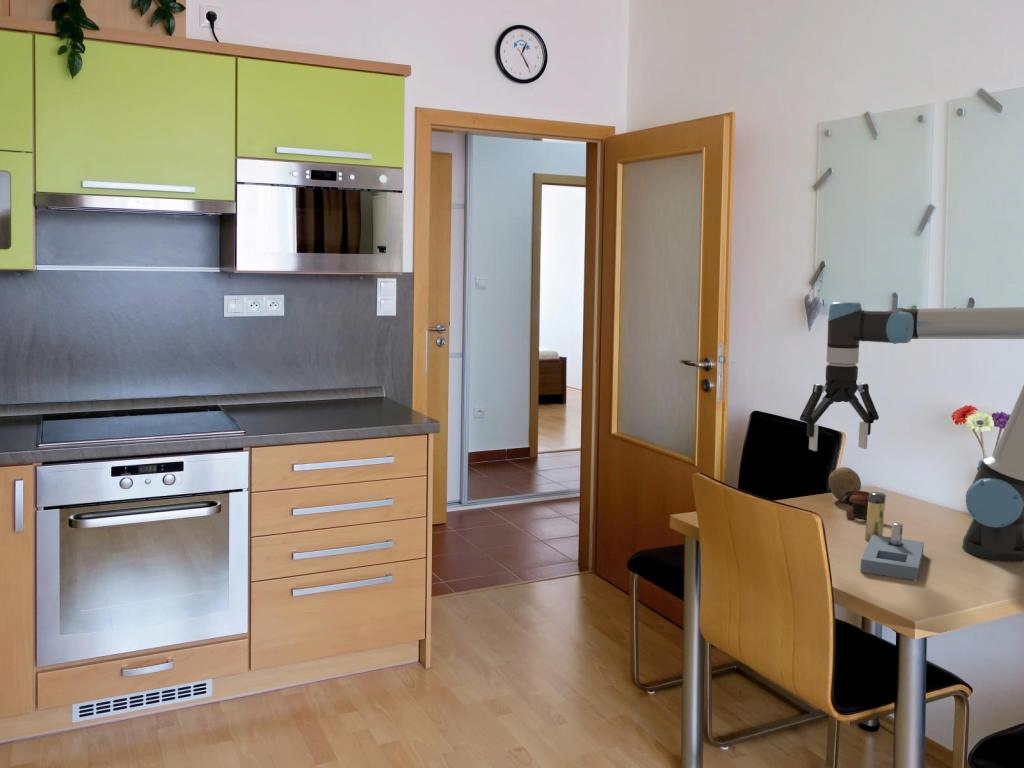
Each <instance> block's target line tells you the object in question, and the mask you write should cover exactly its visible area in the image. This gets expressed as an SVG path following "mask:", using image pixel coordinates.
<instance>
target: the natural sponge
mask: <svg viewBox="0 0 1024 768" xmlns="http://www.w3.org/2000/svg"><path fill="white" fill-rule="evenodd" d="M861 481H862V480H861V479H860V476H859V474H858V473H857V472H856V471H854V470H853V469H852V468H850V467H847V466H842V467H838V468H836V469H833V470H832V472H830V473H829V476H828V486H829V488H830V492H831V494H832V495H833V496H834V498H836V499H837V500H838V501H840V502H842V500H843V498H844V497H845V493H846V492H848V491H861V487H862V482H861Z"/></svg>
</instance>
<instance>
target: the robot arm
mask: <svg viewBox="0 0 1024 768" xmlns="http://www.w3.org/2000/svg"><path fill="white" fill-rule="evenodd" d="M920 339H921V340H925V339H926V340H927V339H928V340H930V339H931V340H937V339H939V340H942V339H943V340H947V339H948V340H1024V306H1017V307H1016V306H1015V307H1014V306H1013V307H1012V306H1007V307H1005V306H1004V307H955V308H954V307H950V308H949V307H945V308H944V307H943V308H941V307H940V308H935V307H934V308H903V307H898V308H893V309H890V310H886V311H883V310H882V311H881V310H865V309H864V310H863V309H862V304H861V302H858V301H834V302H831V304H829V309H828V319H827V343H826V363H827V364H826V366H825V383H824V384H819V383H814V384H813V386H812V393H811V395H810V396H809V399H808V401H807V403H806V405H805V407H804V409H803V410H802V413H801V415H800V416H799V420H800V421H802V422H803V423H806V436H807V437H808V441H809V442H808V450H811V451H813V452H817V451H818V437H819V424H817V422H818V420H819V419H820V418H821V417H822V416H823V415H824V413H825V412H826V411H827V410H828V408H829V407H830V406H831V405H833V404H834V403H841V402H844V403H849V404H850V405H851V407H852V408H853V409H854V410H855V411H856V413H857V414H858V415H859V417H860V418H861V420H862V421H859V427H858V429H859V430H858V446H857V447H858V448H860V449H863V450H868V438H869V437H868V436H870V435H871V428H872V426H871V425H872V424H873V423H875V421H878V420H879V417H880V416H879V414H878V410H877V409H876V407H875V404H874V402H873V399H872V396H871V394H870V390H869V389H870V388H869V387H870V386H869V384H868V383H865V382H859V383H857V380H858V376H859V375H858V373H859V371H858V370H859V367H858V365H857V364H859V355H860V354H859V353H860V342H871V343H873V342H874V343H884V344H885V343H886V344H887V343H889V344H895V345H896V344H908V343H910V342H911V341H912V340H920ZM824 392H825V395H823V393H824ZM857 392H859V395H860V397H861V400H862V402H863V405H862V403H861V402H860V401H859V398H858V397H857V396H856V394H855V393H857ZM822 395H823V397H822ZM821 397H822V400H821V401H820V399H821ZM819 401H820V402H819ZM863 406H864V407H863ZM977 465H978V466H977V467H976V469H977V473H976V475H975V477H974V479H973V481H972V484H971V485H970V486H969V487H968V488H967V491H966V494H965V504H966V505H965V506H966V508H967V510H968V513H969V515H970V516H971V517H972V520H971V521H970V524H969V525H968V528H967V530H966V533H965V535H964V537H963V539H962V549H963V551H965V552H967V553H968V554H971V555H973V556H976V557H980V558H985V559H988V560H993V561H1001V562H1024V385H1023V386H1022V388H1021V390H1020V393H1019V395H1018V398H1016V402H1015V404H1014V406H1013V409H1012V411H1011V412H1010V415H1009V418H1008V420H1007V422H1006V424H1005V426H1004V429H1003V431H1002V433H1001V436H1000V438H999V441H998V442H997V444H996V446H995V449H994V451H993V454H992V455H990V456H987V457H984V458H981V459H980V460H979V461H978V464H977Z"/></svg>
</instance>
